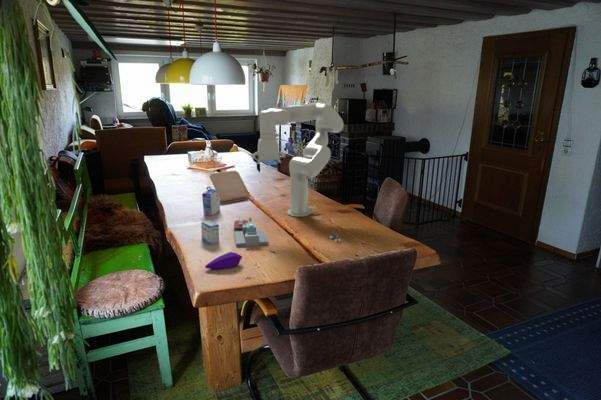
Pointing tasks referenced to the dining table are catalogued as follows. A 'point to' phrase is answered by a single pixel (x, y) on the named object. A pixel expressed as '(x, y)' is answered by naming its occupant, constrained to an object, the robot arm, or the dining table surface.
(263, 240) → the block
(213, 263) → the purple tapered spindle
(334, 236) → the car cutout
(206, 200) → the ink cartridge box
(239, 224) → the walkie-talkie
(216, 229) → the medicine box
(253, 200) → the dining table surface
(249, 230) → the block
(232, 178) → the case
